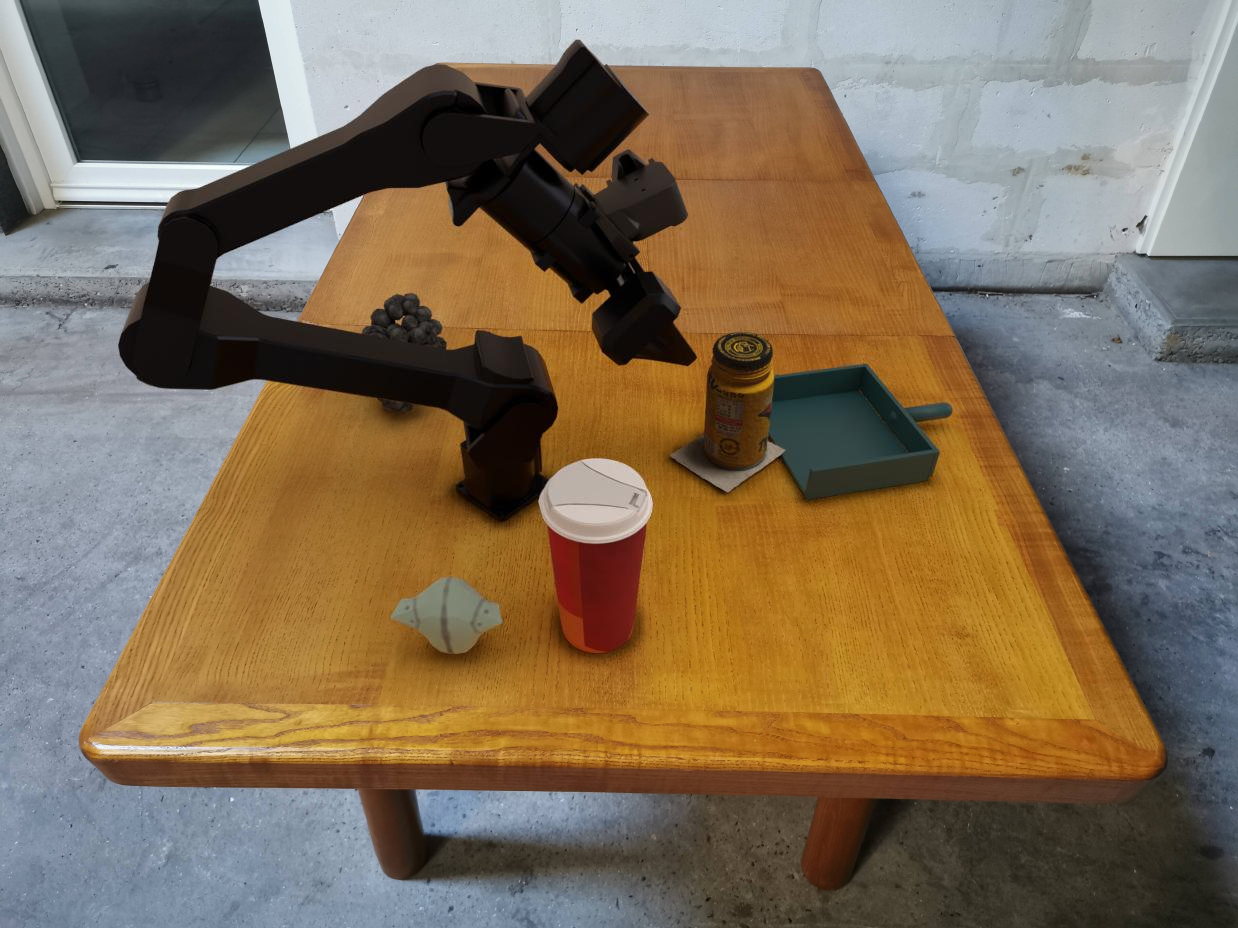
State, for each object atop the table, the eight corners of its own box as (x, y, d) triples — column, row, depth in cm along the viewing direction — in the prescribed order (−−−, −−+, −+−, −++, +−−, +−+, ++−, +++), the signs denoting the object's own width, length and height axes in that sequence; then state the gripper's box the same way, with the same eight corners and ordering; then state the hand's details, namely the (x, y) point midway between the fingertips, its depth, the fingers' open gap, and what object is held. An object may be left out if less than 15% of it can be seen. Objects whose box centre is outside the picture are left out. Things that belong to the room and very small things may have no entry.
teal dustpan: (806, 500, 80) (812, 471, 77) (749, 405, 91) (753, 378, 89) (987, 471, 83) (997, 443, 81) (910, 383, 94) (917, 356, 92)
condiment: (785, 451, 84) (798, 345, 77) (727, 494, 80) (735, 385, 72) (727, 419, 88) (734, 315, 81) (669, 458, 84) (670, 352, 76)
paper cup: (659, 601, 70) (667, 467, 61) (628, 676, 64) (632, 540, 56) (568, 577, 72) (562, 443, 63) (530, 648, 66) (518, 512, 57)
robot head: (397, 666, 65) (383, 605, 61) (410, 623, 68) (397, 562, 64) (505, 672, 65) (498, 611, 60) (513, 628, 68) (507, 567, 64)
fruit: (403, 352, 81) (425, 272, 92) (323, 376, 83) (355, 294, 94) (444, 421, 87) (460, 338, 98) (368, 443, 88) (393, 358, 99)
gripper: (663, 183, 55) (793, 322, 65) (595, 93, 69) (711, 218, 79) (540, 304, 59) (681, 420, 68) (499, 194, 72) (621, 303, 82)
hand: (675, 332), depth 74 cm, fingers open, 9 cm apart
